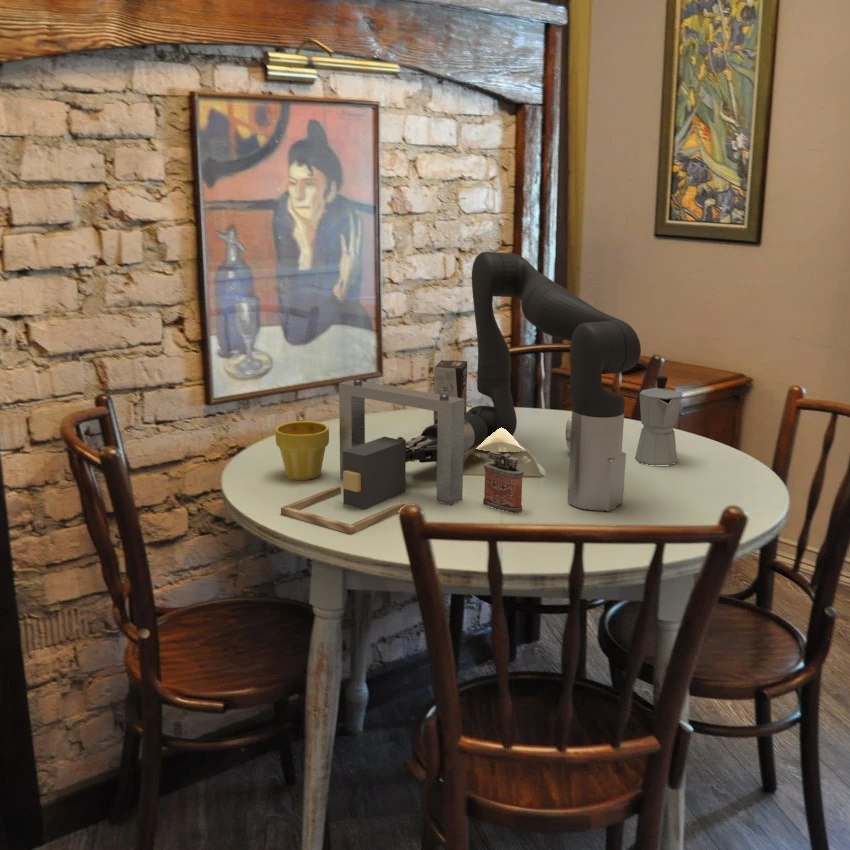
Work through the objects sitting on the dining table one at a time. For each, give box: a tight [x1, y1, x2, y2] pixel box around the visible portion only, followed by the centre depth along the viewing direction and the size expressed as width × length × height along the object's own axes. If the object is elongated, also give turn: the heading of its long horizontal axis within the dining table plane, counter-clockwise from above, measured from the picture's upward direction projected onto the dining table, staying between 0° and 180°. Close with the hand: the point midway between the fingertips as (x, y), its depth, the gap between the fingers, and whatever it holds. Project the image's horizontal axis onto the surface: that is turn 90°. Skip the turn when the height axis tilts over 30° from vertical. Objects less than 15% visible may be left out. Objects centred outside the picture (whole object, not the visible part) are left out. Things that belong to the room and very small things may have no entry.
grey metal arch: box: [338, 379, 464, 506], centre depth 183 cm, size 26×4×20 cm, turn 54°
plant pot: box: [274, 420, 330, 481], centre depth 192 cm, size 10×10×10 cm
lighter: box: [482, 450, 525, 514], centre depth 175 cm, size 8×3×10 cm, turn 48°
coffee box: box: [433, 359, 468, 425], centre depth 223 cm, size 9×6×16 cm
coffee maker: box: [634, 375, 683, 466], centre depth 204 cm, size 15×9×18 cm, turn 0°
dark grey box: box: [342, 436, 407, 510], centre depth 179 cm, size 5×13×10 cm, turn 144°
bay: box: [280, 485, 406, 535], centre depth 173 cm, size 16×15×1 cm
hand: (395, 459), depth 183 cm, fingers closed
